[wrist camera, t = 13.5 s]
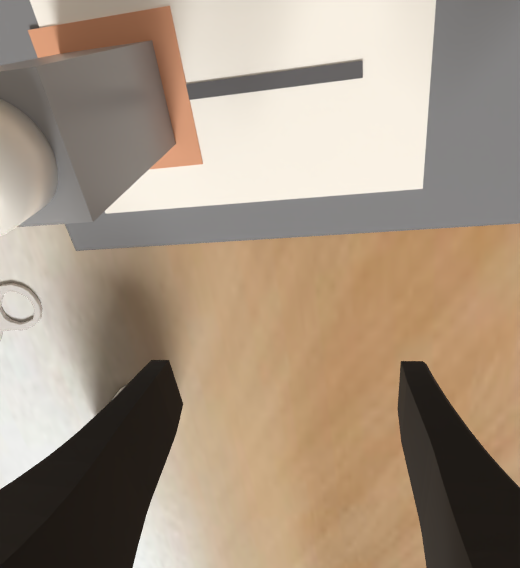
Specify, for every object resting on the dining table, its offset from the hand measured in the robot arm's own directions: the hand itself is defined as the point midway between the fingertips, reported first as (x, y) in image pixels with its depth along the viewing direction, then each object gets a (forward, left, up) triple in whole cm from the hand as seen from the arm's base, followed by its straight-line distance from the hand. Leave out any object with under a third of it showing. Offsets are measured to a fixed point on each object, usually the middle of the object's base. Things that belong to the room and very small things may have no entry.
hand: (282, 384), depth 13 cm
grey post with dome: (+7, -8, -9) cm, 14 cm away
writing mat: (+1, -7, -10) cm, 12 cm away
